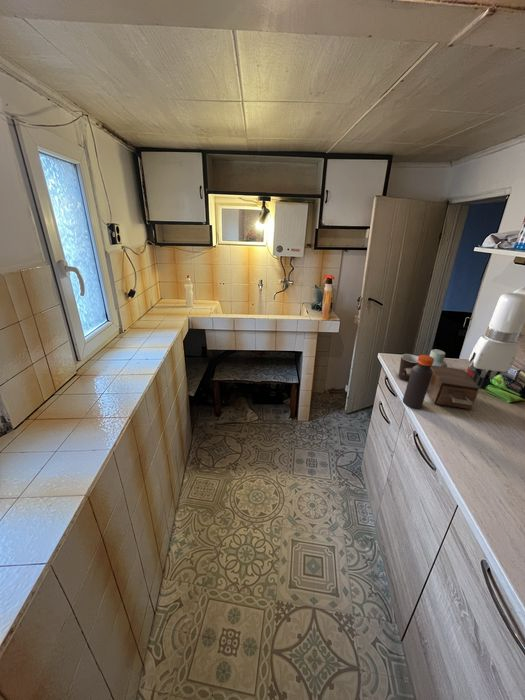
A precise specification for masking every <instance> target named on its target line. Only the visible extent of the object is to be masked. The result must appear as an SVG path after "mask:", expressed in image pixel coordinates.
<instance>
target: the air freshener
mask: <svg viewBox="0 0 525 700" xmlns="http://www.w3.org/2000/svg"><path fill="white" fill-rule="evenodd" d="M429 356H430V357H432V358H434V362H433V364H432V366H439V367H446V368H448V364H447V362H446V361H445V357H446V352H445V351H443V350H442V349H441V350H440V349H437V348H435V349H431V350H430V354H429Z"/></svg>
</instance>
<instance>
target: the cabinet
mask: <svg viewBox="0 0 525 700" xmlns="http://www.w3.org/2000/svg"><path fill="white" fill-rule="evenodd" d="M430 368H431V370H432V371H433V374H432V377H431V380H430V383H429V386H428V389H427V392H428V395H429V397H430V399H431V400H432V402H433V404H434V405H440V406H443V405H442V404H438V403H437V400H438V397H439V395H440V392H441V389H442V386H443V385H449V386H456V387H462V388H469V389H473V390H477V391H478V392H479V390H480V389H479V388H478V387H477V385H476V383H475V382H474V381H473V380H472V379H471V378H470V376H469V375H468V374H467V373H466V372H467V371H466V370H465V369H460V368H454V367H447V368H446V367H439V366H431V367H430ZM445 406H447V407H449V406H448V405H445ZM451 407H453V408H456V407H455V406H451ZM457 408H460V409H462V408H461V407H457ZM464 409H465V410H468V409H467V408H464Z"/></svg>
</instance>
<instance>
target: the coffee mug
mask: <svg viewBox="0 0 525 700" xmlns="http://www.w3.org/2000/svg"><path fill="white" fill-rule="evenodd" d="M418 357H419V355H418V356H417V355H415V354H411V353H403V354H401V356H400V363H399V369H398V379H400V380H401V381H404V382H407V383H408V381H409V377H410V374H411V371H412V368H413V366H415V365H417V364H418V363H417V361H418Z"/></svg>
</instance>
